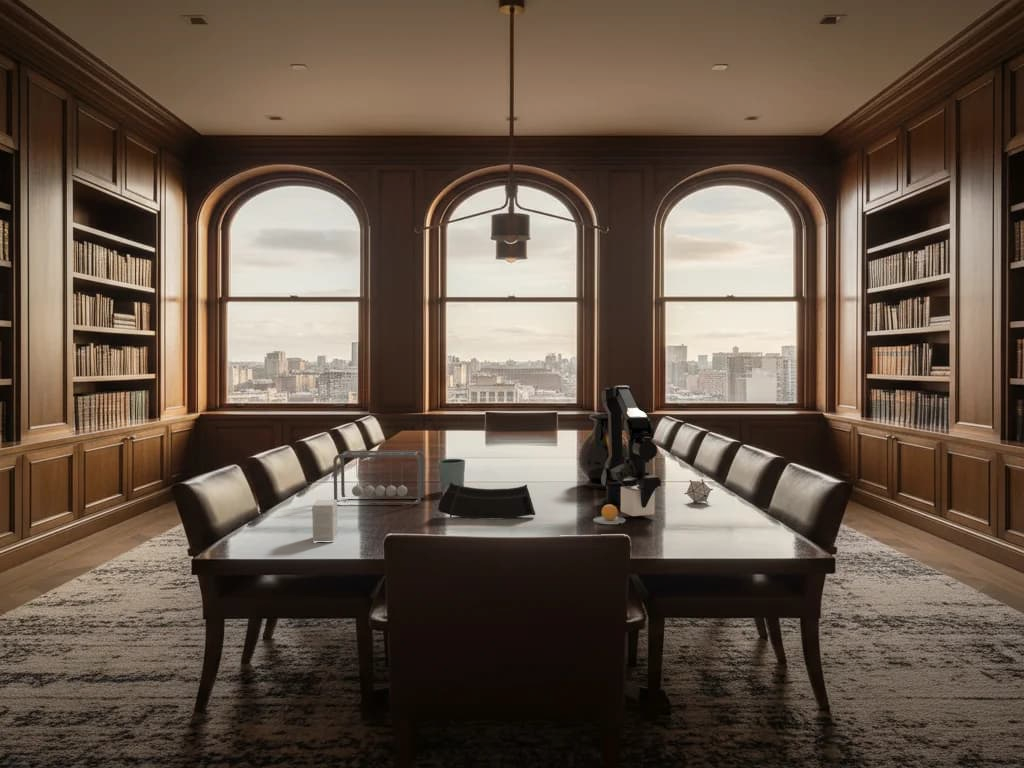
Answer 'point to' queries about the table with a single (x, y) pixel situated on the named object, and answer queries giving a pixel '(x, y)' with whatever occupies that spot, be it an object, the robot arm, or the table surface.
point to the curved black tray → (486, 502)
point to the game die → (698, 491)
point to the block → (635, 502)
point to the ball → (609, 512)
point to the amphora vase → (597, 451)
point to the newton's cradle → (380, 489)
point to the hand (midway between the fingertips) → (636, 505)
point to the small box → (324, 520)
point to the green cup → (451, 472)
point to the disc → (604, 521)
